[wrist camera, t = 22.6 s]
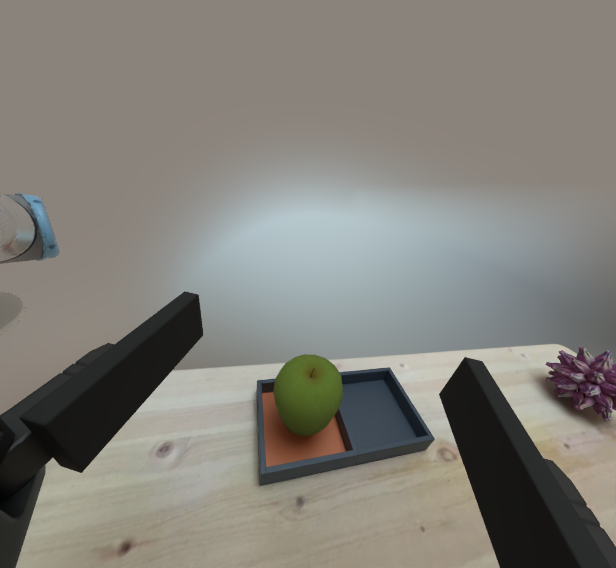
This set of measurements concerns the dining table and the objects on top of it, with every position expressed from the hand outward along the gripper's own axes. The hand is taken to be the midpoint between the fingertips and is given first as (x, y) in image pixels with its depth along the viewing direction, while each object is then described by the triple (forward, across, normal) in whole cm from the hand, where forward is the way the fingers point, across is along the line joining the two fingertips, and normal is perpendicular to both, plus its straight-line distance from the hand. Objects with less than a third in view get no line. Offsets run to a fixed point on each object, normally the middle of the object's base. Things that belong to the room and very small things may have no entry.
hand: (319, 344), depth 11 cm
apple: (+10, 0, -25) cm, 26 cm away
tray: (+12, +5, -25) cm, 28 cm away
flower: (+27, +49, -25) cm, 61 cm away
